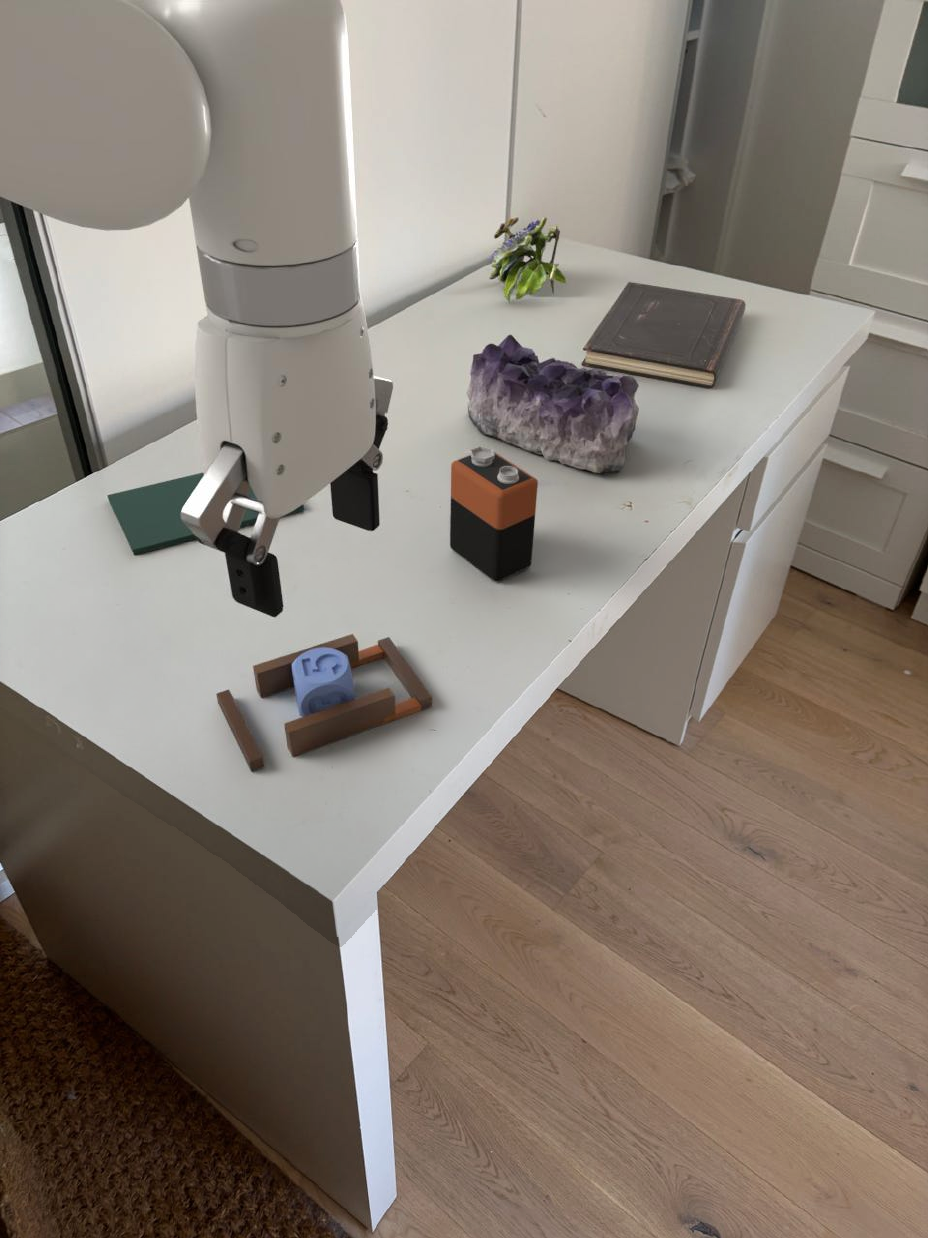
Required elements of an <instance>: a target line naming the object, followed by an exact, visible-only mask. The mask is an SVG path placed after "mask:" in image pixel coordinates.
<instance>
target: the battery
mask: <svg viewBox="0 0 928 1238" xmlns="http://www.w3.org/2000/svg"><path fill="white" fill-rule="evenodd" d="M538 486H539V481H538V479H537V478H536V477H535V476H534V475H532V474H530V473H528V472H527V471H525V470H524V469H522V468H520V467H519V466H518V465H516V464H514V463H513V462H512V461H509V460H508V459H506V458H505V457H503V456H501V455H500V454H499V453H497V452H495V451H494V450H493V448H491V447H486V446H484V445H483V446H482V445H478V446H476V447H473V448H472V449H470V450H469V455H466V456H464V457H461V458H458V459H456V460H454V461H452V462H451V464H450V517H449V518H450V519H449V520H450V521H449V522H450V523H449V547H450V549H452V551H454V552H455V553H456V554H458V555H459V556H460V557H462V558H463V559H464V560H466V561H467V562H468V563H470V564H471V565H472V566H473V567H475V568H476V569H478V570H479V571H480V572H481V573H483V574H484V575H486V577H488V578H490V579H491V580H492V581H493V582H496V583H497V582H500V581H502V580H504V579H507V578H508V577H510V576H512V575H514V574H518V573H519V572H521V571H523V570H525V569H527V568H529V567H530V566H531V565H532V560H533V547H534V535H535V525H536V522H535V521H536V513H537V511H536V509H537V499H538V498H537V497H538Z"/></svg>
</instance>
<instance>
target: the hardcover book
mask: <svg viewBox="0 0 928 1238" xmlns="http://www.w3.org/2000/svg"><path fill="white" fill-rule="evenodd" d="M745 311H746V302H745V300H743V299H740V298H734V297H728V296H722V295H715V294H709V293H702V292H695V291H691V290H684V289H683V290H682V289H676V288H670V287H664V286H658V285H651V284H647V283H646V284H645V283H640V282H634V281H628V282H627V284H626V285H625V287H624V288H623V289H622V291H621V293H620V294H619V295H618V297H617V299H616V300H615V301H614V303H613V304H612V305H611V307H610V308H609V310H608V312H607V313H606V314H605V316H604V317H603V318H602V320H601V321H600V323H599V324H598V326H597V327H596V329H595V330H594V331H593V333H592V334H591V336H590V337H589V339H588V340H587V342H586V343H585V344H584V346H583V347H582V351H585V352H586V353H585V356H584V358H583V359H582V361H581V364H580V365H581V366H584V367H589V368H592V369H598V370H603V371H604V370H606V371H610V372H616V373H621V374H627V375H631V376H632V375H633V376H638V377H644V378H648V379H653V380H660V381H666V382H670V383H676V384H680V385H681V384H682V385H687V386H691V387H692V386H694V387H697V388H702V389H711V388H713V387H714V386H715V383H716V382H717V379H718V376H719V375H720V371H721V369H722V368H723V364H724V362H725V360H726V357H727V355H728V352H729V350H730V348H731V345H732V343H733V341H734V338H735V336H736V334H737V331H738V328H739V326H740V324H741V321H742V319H743V316H744V314H745Z"/></svg>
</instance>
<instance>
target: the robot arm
mask: <svg viewBox="0 0 928 1238" xmlns="http://www.w3.org/2000/svg"><path fill="white" fill-rule="evenodd" d="M347 25H348V24H347V15H346V13H345V8H344V5H343V2H342V0H0V198H3V199H5V200H7V201H9V202H12V203H14V204H17V205H20V206H22V207H24V208H27V209H29V210H31V211H34V212H37V213H39V214H41V215H44V216H46V217H49V218H52V219H55V220H57V221H59V222H63V223H66V224H69V225H73V226H77V227H81V228H85V229H93V230H100V231H107V232H109V231H131V230H135V229H140V228H143V227H148V226H151V225H153V224H155V223H157V222H159V221H162V220H164V219H166V218H167V217H169V216H170V215H172V214H173V213H174V212H176V211H177V210H178V209H179V208H182V206H183V205H184V204H185V203H186V201H187V200H188V201H189V207H190V213H191V220H192V227H193V233H194V240H195V244H196V253H197V259H198V266H199V272H200V278H201V285H202V290H203V291H202V292H203V299H204V303H205V310H206V316H204V317H203V318H201V319H200V320H199V321H198V322H197V326H196V337H195V347H194V348H195V349H194V350H195V351H194V353H195V354H194V391H195V411H196V422H197V432H198V440H199V451H200V459H201V463H202V464H201V465H202V471H203V472H202V473H204V476H203V478H202V479H201V481H200V482H199V484H198V485H197V487H196V488H195V490H194V491H193V493H192V494H191V496H190V497H189V499H188V500H187V502H186V503H185V505H184V506H183V508H182V510H181V514H180V516H181V520H182V521H183V522H184V524H185V525H186V526H187V527H188V528H189V529H190V530H191V531H192V533H193V534H194V535H195V536H197V539H196V540H197V541H198V544H201V545H204V546H206V547H208V548H211V549H214V550H217V551H219V552H221V553H224V557H225V561H226V568H227V573H228V580H229V586H230V591H231V592H230V593H231V597H232V599H233V600H234V601H235V602H236V603H238V604H240V605H243V606H245V607H247V608H249V609H252V610H254V611H257V612H259V613H261V614H263V615H266V616H269V617H272V618H277V617H278V616H279V615H280V614H282V612H283V611H284V599H283V592H282V585H281V575H280V567H279V560H278V557H277V556H276V555H275V554H274V553H271V552H269V551H270V548H271V545H272V542H273V539H274V537H275V534H276V532H277V531H276V530H277V527H278V525H279V521H280V519H281V518H282V517H285V516H287V515H286V514H288V513H290V512H292V511H293V510H295V509H296V508H298V507H299V506H301V505H302V504H303V505H304V504H305V503H306V502H307V501H309V500H310V499H312V498H313V497H314V496H316V495H317V494H318V493H320V492H321V491H322V490H323V489H325V488H326V487H328V486H330V497H331V511H332V517H333V518H334V519H335V520H337V521H340V522H342V523H345V524H348V525H351V526H354V527H355V528H359V529H362V530H365V531H368V532H374V531H375V530H377V529H378V528H379V527H380V522H381V521H380V499H379V498H380V497H379V474H378V473H377V472H376V471H378V470H379V469H380V468H381V466H382V464H383V459H384V455H383V452H382V451H381V449H380V447H381V444H382V442H383V439H384V437H385V435H386V432H387V431H388V427H389V426H388V425H389V419H388V417H387V416H386V414H388V412H389V408H390V403H391V398H392V394H393V390H394V383H393V381H392V380H391V379H390V380H389V379H388V378H383V377H380V376H376V375H374V365H373V358H372V356H373V355H372V350H371V348H372V347H371V342H370V336H369V329H368V324H367V319H366V313H365V309H364V303H363V299H362V295H361V281H360V264H359V262H360V261H359V260H360V259H359V240H358V221H357V202H356V201H357V200H356V199H357V198H356V181H355V177H356V176H355V159H354V158H355V157H354V138H353V137H354V136H353V135H354V134H353V116H352V114H353V113H352V96H351V95H352V93H351V75H350V73H351V72H350V54H349V53H350V52H349V35H348V26H347ZM250 488H252V490H253V492H254V494H255V496H256V498H257V500H255V499H253V498H250V497H248V494H249V491H250ZM258 500H260V501H258ZM261 501H262V502H261ZM246 509H248V510H251V511H254V512H257V513H260V514H259V515H258V517H257V520H256V523H255V524H254V526H253V529H252V533H251V535H250V537H249V536H247V535H245V534H243V533H240V532H239V531H240V528H241V527H240V525H241V522H242V519H243V516H244V513H245V510H246ZM284 515H285V516H284Z"/></svg>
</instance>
